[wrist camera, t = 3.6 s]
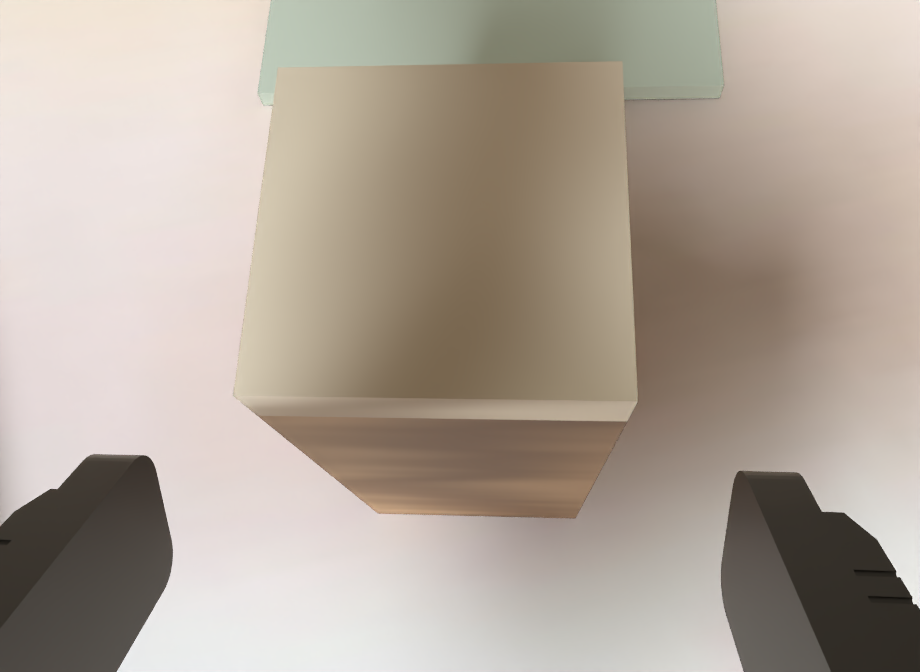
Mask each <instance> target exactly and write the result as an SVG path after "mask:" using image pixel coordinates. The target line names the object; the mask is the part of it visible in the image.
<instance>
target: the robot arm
mask: <svg viewBox="0 0 920 672" xmlns="http://www.w3.org/2000/svg"><path fill="white" fill-rule="evenodd" d="M172 559H173V548H172V540H171V536H170V531H169V527H168V522H167V518H166V513H165V509H164V504H163V500H162V495H161V491H160V486H159V482H158V477H157V472H156V469H155V466H154V463H153V462H152V460H151V459H150V458H149V457H147V456H144V455H103V454H93V455H90V456H88V457H87V458H86V459H85V460H83V462H82V463H81V464H80V465H79V466H78V467H77V468H76V469H75V470H74V472H73V473H72V474H71V475H70V476H69V477H68V478H67V479H66V480H65V482H64V483H63V484H62V485H61V486H60V487H59V488H58V489H50V490H48V491H47V492H45V493H43V494H42V495H40V496H39V497H37V498H35V499H34V500H32V501H31V502H29V503H28V504H26V505H24V506H23V507H21V508H20V509H18V510H16V511H15V512H14V513H13V514H12V515H11V516H10V517H9V518H8V519H7V520H6V521H5V522H4V523H3V524H2V525H1V526H0V672H117V670H118V668H119V667H120V665H121V663H122V661H123V660H124V658H125V656H126V655H127V653H128V651H129V649H130V648H131V646H132V644H133V643H134V641H135V639H136V637H137V636H138V634H139V632H140V631H141V629H142V627H143V625H144V624H145V622H146V620H147V618H148V617H149V615H150V613H151V612H152V610H153V608H154V606H155V605H156V603H157V601H158V600H159V598H160V596H161V594H162V593H163V591H164V589H165V587H166V585H167V582H168V579H169V576H170V572H171V567H172ZM721 588H722V597H723V604H724V608H725V612H726V616H727V619H728V622H729V625H730V629H731V632H732V635H733V638H734V641H735V645H736V648H737V651H738V654H739V658H740V661H741V664H742V667H743V671H744V672H920V609H919V608H918V606H917V604H913V602H912V596H911V595H910V593H909V591H908V590H907V588H906V586H905V585H904V583H903V582H902V580H901V578H900V577H897V576H896V570H895V568H894V567H893V565H892V564H891V562H890V560H889V559H888V557H887V555H886V554H885V552H884V551H883V549H882V547H881V546H880V544H879V542H878V541H877V539H875V538H874V537H873V536H872V535H870V534H869V533H868V532H867V531H866V530H864V529H863V528H862V527H861V526H859V525H858V524H857V523H856V522H854V521H853V520H852V519H851V518H850V517H848V516H847V515H846V514H845V513H839V512H822V511H821V510H820V508H819V506H818V504H817V502H816V500H815V499H814V497H813V495H812V493H811V491H810V489H809V488H808V486H807V484H806V482H805V480H804V479H803V477H802V476H801V475H800V474H799V473H795V472H753V471H739V472H738V473H737V475H736V477H735V479H734V483H733V489H732V496H731V502H730V509H729V516H728V523H727V530H726V536H725V543H724V550H723V557H722V565H721Z"/></svg>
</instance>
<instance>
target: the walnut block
mask: <svg viewBox="0 0 920 672" xmlns="http://www.w3.org/2000/svg"><path fill="white" fill-rule="evenodd" d="M233 396H234V397H235V398H236V399H238V400H239V401H240V402H241V403H243V404H244V405H245V406H246V407H247V408H249V409H250V410H251V411H252V412H254V413H255V414H256V415H257V416H259V417H260V418H261V419H262V420H263V421H265V422H266V423H267V424H268V425H270V426H271V427H272V428H273V429H275V430H276V431H277V432H278V433H280V434H281V435H282V436H283V437H284V438H286V439H287V440H288V441H289V442H291V443H292V444H293V445H294V446H296V447H297V448H298V449H299V450H300V451H302V452H303V453H304V454H305V455H307V456H308V457H309V458H310V459H312V460H313V461H314V462H315V463H317V464H318V465H319V466H320V467H321V468H323V469H324V470H325V471H326V472H328V473H329V474H330V475H331V476H333V477H334V478H335V479H336V480H337V481H339V482H340V483H341V484H342V485H344V486H345V487H346V488H347V489H349V490H350V491H351V492H352V493H354V494H355V495H356V496H357V497H358V498H360V499H361V500H362V501H363V502H365V503H366V504H367V505H368V506H370V507H371V508H372V509H373V510H374V511H376V512H377V513H382V514H422V515H462V516H503V517H543V518H576V516H577V514H578V512H579V510H580V508H581V507H582V505H583V503H584V501H585V499H586V497H587V495H588V494H589V492H590V490H591V488H592V486H593V484H594V482H595V481H596V479H597V477H598V475H599V473H600V471H601V469H602V467H603V466H604V464H605V462H606V460H607V458H608V456H609V454H610V453H611V451H612V449H613V447H614V445H615V443H616V441H617V440H618V438H619V436H620V434H621V432H622V430H623V428H624V427H625V425H626V423H627V421H628V419H629V417H630V415H631V413H632V412H633V410H634V408H635V406H636V404H637V402H638V391H637V369H636V347H635V325H634V303H633V281H632V260H631V238H630V216H629V194H628V172H627V150H626V128H625V106H624V85H623V63H622V61H607V62H552V63H497V64H442V65H388V66H333V67H278V70H277V77H276V85H275V92H274V99H273V107H272V114H271V121H270V129H269V136H268V143H267V151H266V158H265V165H264V173H263V180H262V187H261V195H260V202H259V209H258V217H257V224H256V231H255V239H254V246H253V253H252V261H251V268H250V275H249V283H248V290H247V297H246V305H245V312H244V319H243V327H242V334H241V341H240V349H239V356H238V363H237V371H236V378H235V385H234V393H233Z"/></svg>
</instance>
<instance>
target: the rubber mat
mask: <svg viewBox="0 0 920 672" xmlns="http://www.w3.org/2000/svg"><path fill="white" fill-rule="evenodd" d="M607 61H622V63H623V85H624V100H636V99H700V98H720V95H721V92H722V90H723V87H724V79H723V69H722V58H721V48H720V38H719V28H718V18H717V8H716V0H271V4H270V11H269V18H268V25H267V31H266V38H265V45H264V52H263V59H262V66H261V73H260V80H259V87H258V95H259V97H260V99H261V101H262V103H263V105H273V99H274V92H275V85H276V77H277V70H278V67H333V66H388V65H442V64H497V63H552V62H607Z"/></svg>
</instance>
